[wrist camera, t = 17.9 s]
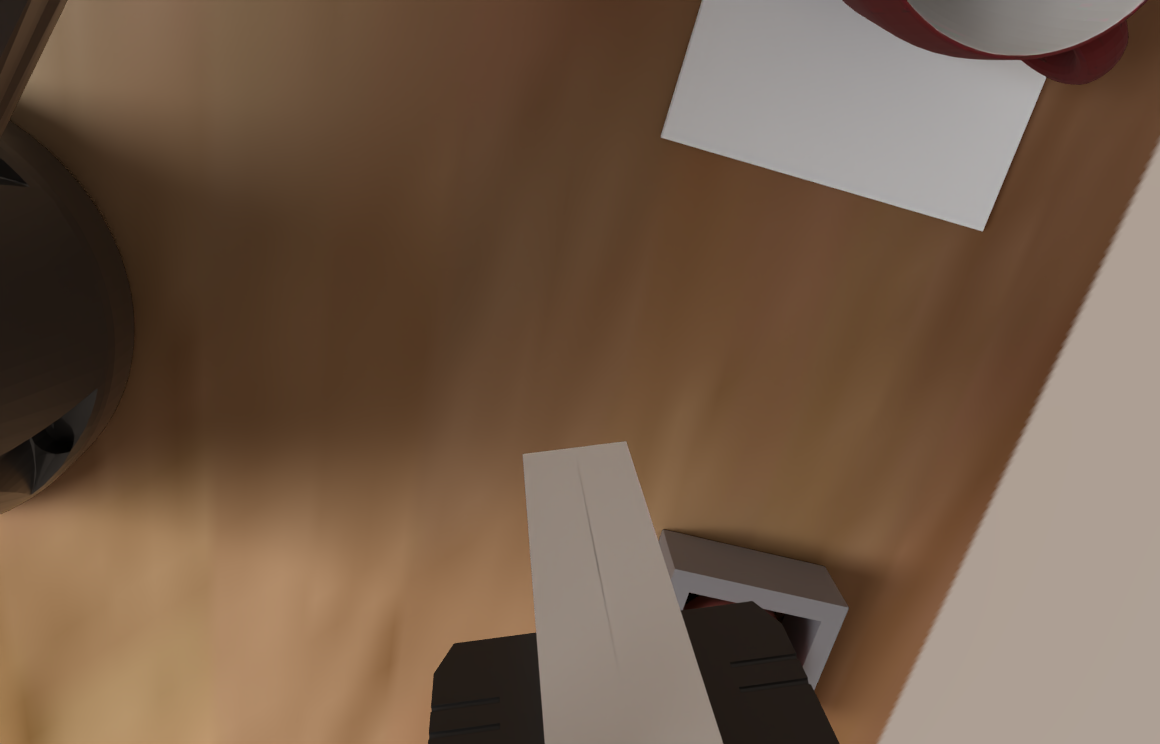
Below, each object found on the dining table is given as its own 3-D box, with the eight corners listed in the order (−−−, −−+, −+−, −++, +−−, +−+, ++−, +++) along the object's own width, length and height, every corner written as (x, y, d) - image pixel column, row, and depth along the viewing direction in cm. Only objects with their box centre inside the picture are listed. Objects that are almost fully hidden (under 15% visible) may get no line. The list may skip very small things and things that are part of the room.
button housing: (767, 706, 42) (786, 755, 39) (612, 674, 41) (620, 722, 38) (824, 566, 40) (849, 607, 37) (662, 529, 39) (675, 568, 36)
